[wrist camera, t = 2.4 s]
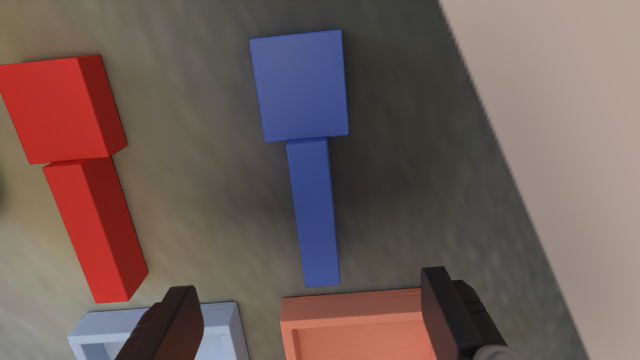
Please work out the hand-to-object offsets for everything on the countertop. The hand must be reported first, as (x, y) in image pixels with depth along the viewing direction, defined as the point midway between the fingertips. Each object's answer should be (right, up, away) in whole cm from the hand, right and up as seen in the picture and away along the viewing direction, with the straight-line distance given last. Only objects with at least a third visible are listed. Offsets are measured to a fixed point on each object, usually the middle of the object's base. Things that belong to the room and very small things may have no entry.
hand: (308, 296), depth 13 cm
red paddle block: (-11, +4, +6) cm, 13 cm away
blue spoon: (0, +5, +6) cm, 8 cm away
